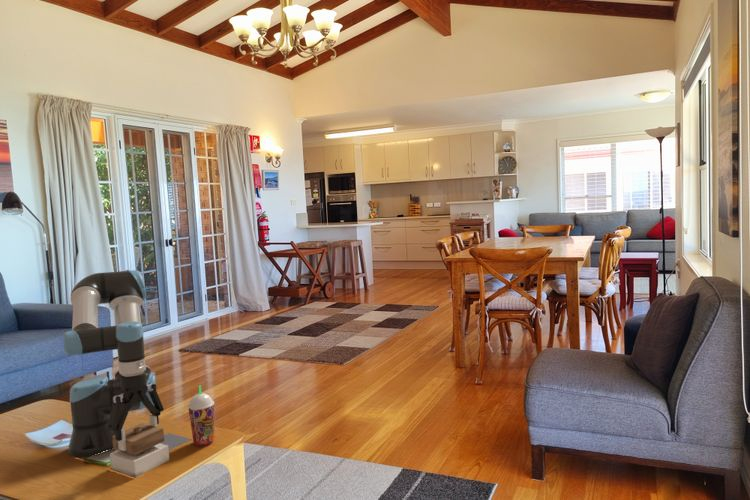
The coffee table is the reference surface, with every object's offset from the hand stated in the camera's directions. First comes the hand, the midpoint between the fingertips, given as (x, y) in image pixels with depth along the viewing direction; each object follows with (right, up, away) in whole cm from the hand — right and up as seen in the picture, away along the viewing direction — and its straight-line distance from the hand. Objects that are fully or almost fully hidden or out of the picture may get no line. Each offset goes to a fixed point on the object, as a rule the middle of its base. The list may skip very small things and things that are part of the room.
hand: (138, 442), depth 173 cm
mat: (+2, -6, +16) cm, 17 cm away
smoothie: (+16, -6, +15) cm, 22 cm away
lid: (0, -1, 0) cm, 1 cm away
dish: (0, -7, +1) cm, 7 cm away
